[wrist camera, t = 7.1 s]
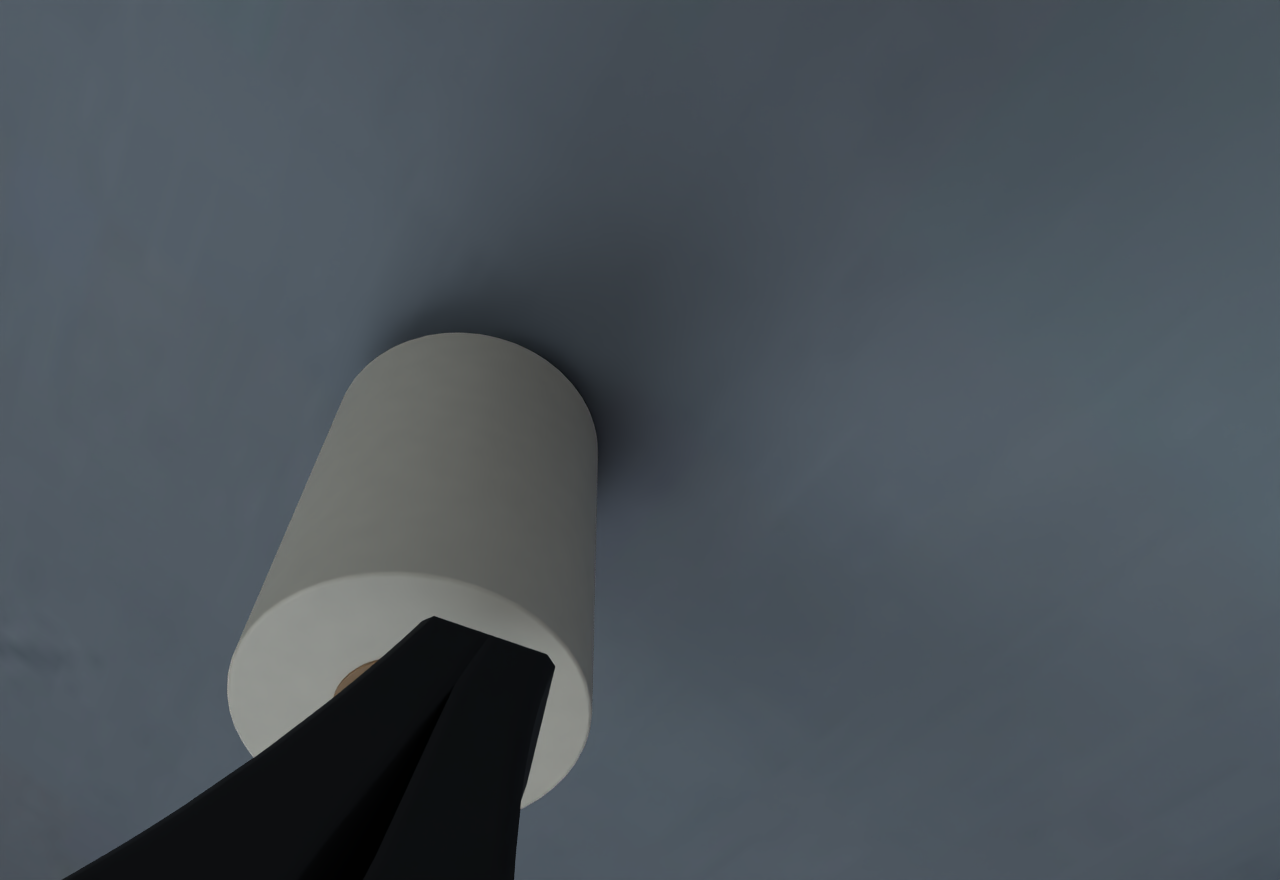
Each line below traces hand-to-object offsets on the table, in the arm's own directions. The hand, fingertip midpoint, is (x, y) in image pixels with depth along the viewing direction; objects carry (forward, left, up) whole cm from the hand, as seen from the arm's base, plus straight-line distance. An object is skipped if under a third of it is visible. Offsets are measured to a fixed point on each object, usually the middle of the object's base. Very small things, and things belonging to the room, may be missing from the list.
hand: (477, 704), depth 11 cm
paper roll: (0, 0, -4) cm, 4 cm away
